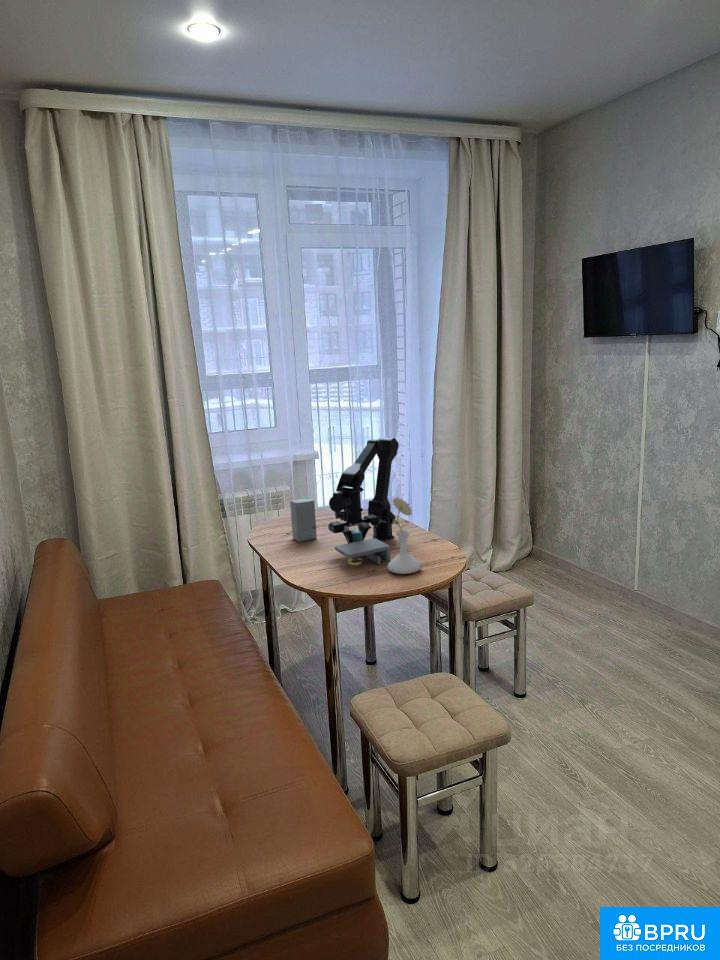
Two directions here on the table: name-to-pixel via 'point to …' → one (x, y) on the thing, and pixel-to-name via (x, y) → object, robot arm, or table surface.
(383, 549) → the shelf
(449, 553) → the table surface
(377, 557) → the blade tool
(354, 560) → the token
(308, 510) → the skincare box
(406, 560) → the flower in vase
